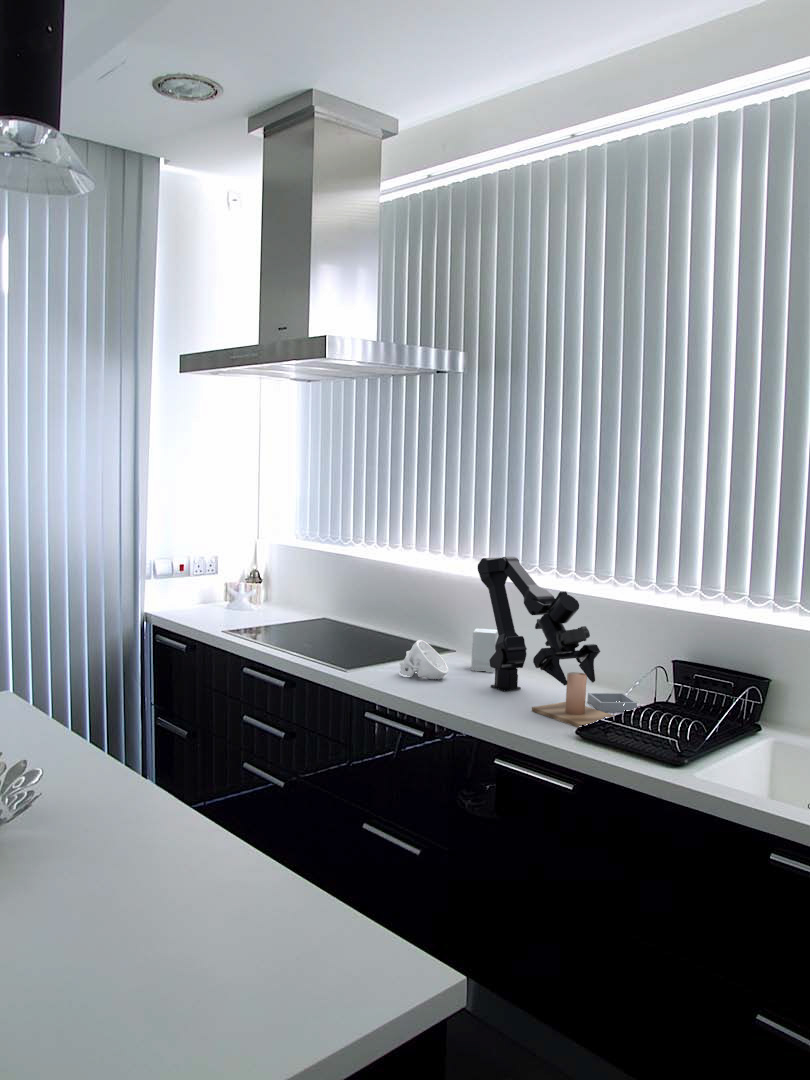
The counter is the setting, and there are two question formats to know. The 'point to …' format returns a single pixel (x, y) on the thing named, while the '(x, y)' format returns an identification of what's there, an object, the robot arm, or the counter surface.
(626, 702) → the grey box
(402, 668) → the skull bowl
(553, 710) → the walnut board
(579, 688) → the pink tall rounded piece
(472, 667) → the supplement box
